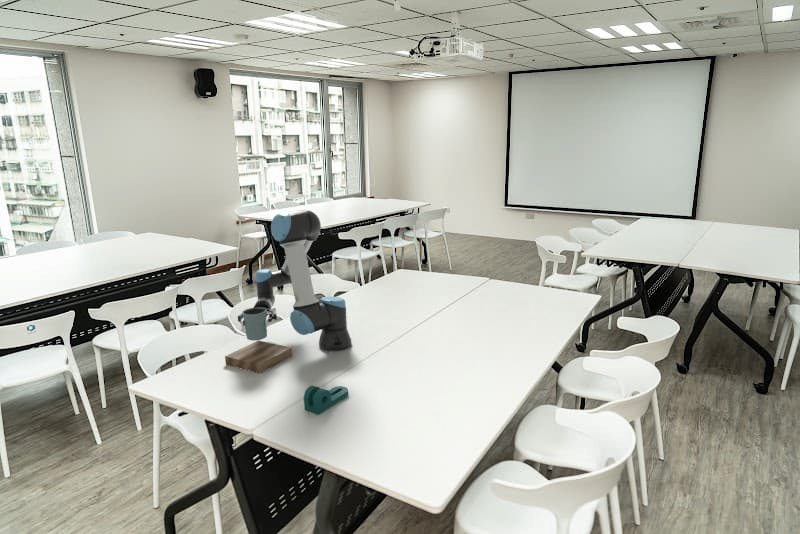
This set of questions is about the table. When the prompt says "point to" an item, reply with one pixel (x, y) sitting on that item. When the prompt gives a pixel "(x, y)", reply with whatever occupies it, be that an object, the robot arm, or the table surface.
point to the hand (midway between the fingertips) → (254, 323)
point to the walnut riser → (258, 356)
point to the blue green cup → (255, 323)
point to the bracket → (323, 398)
